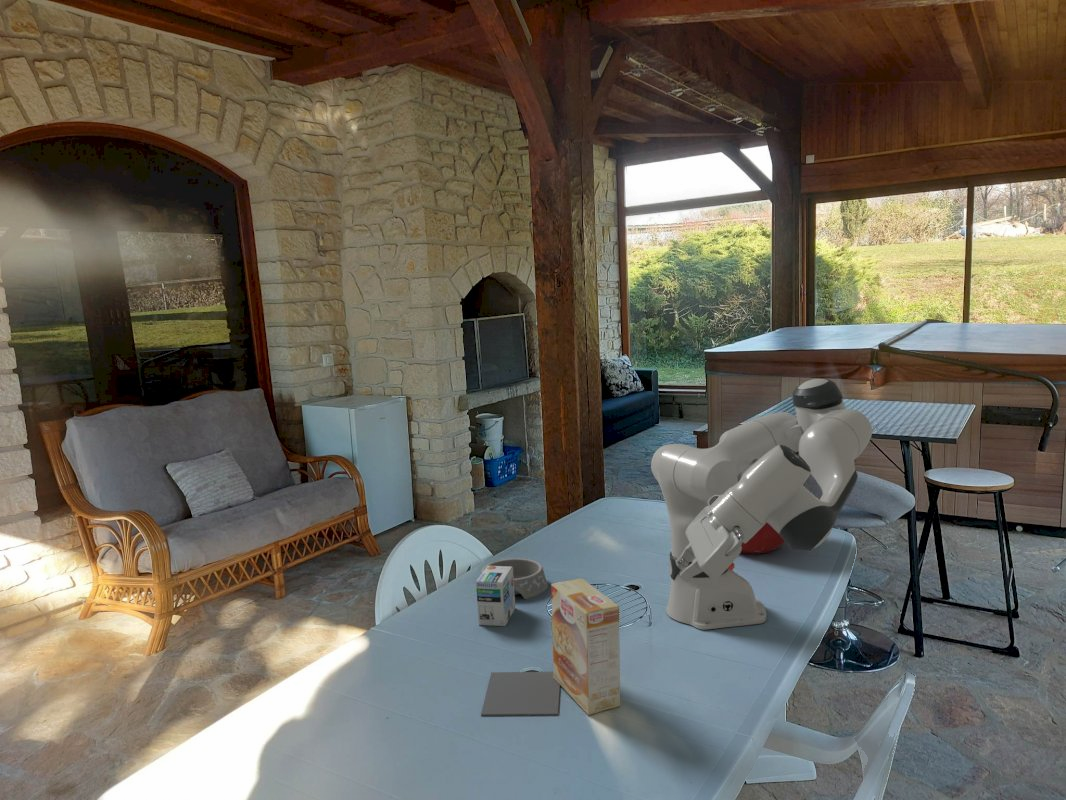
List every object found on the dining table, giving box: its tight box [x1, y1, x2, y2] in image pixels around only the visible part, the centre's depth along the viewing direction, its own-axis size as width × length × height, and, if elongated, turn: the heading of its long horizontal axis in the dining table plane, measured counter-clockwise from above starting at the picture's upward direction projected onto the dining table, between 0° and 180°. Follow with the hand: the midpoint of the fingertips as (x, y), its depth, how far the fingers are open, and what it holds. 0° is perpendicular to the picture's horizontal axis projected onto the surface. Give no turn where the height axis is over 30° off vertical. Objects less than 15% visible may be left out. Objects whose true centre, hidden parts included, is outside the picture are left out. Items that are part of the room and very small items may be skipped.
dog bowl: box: [480, 557, 549, 600], centre depth 193 cm, size 17×18×5 cm
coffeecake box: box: [550, 578, 621, 716], centre depth 138 cm, size 15×7×20 cm, turn 23°
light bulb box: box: [475, 566, 516, 627], centre depth 175 cm, size 11×7×11 cm, turn 168°
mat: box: [480, 671, 561, 717], centre depth 141 cm, size 14×15×1 cm
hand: (680, 572), depth 135 cm, fingers open, 4 cm apart
